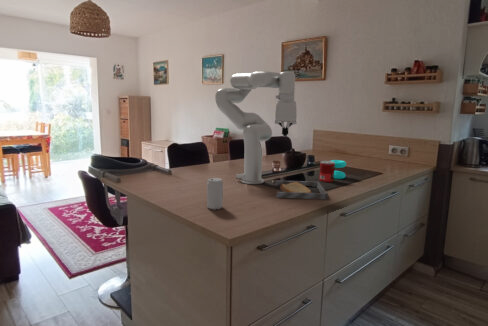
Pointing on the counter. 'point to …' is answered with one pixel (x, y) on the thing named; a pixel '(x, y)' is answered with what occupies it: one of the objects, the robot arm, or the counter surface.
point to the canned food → (327, 171)
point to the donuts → (339, 165)
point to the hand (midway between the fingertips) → (285, 135)
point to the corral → (320, 195)
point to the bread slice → (294, 188)
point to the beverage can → (214, 193)
